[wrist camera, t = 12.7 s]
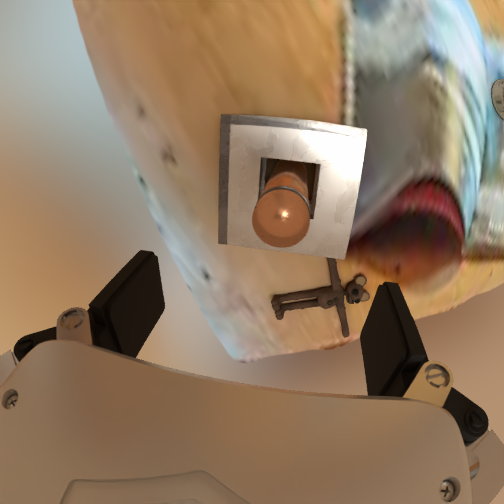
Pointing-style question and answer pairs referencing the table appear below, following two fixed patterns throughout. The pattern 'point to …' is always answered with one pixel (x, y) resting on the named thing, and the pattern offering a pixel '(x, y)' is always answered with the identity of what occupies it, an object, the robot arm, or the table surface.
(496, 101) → the spray can
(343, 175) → the frame
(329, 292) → the bear figurine
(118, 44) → the table surface
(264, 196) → the tube
